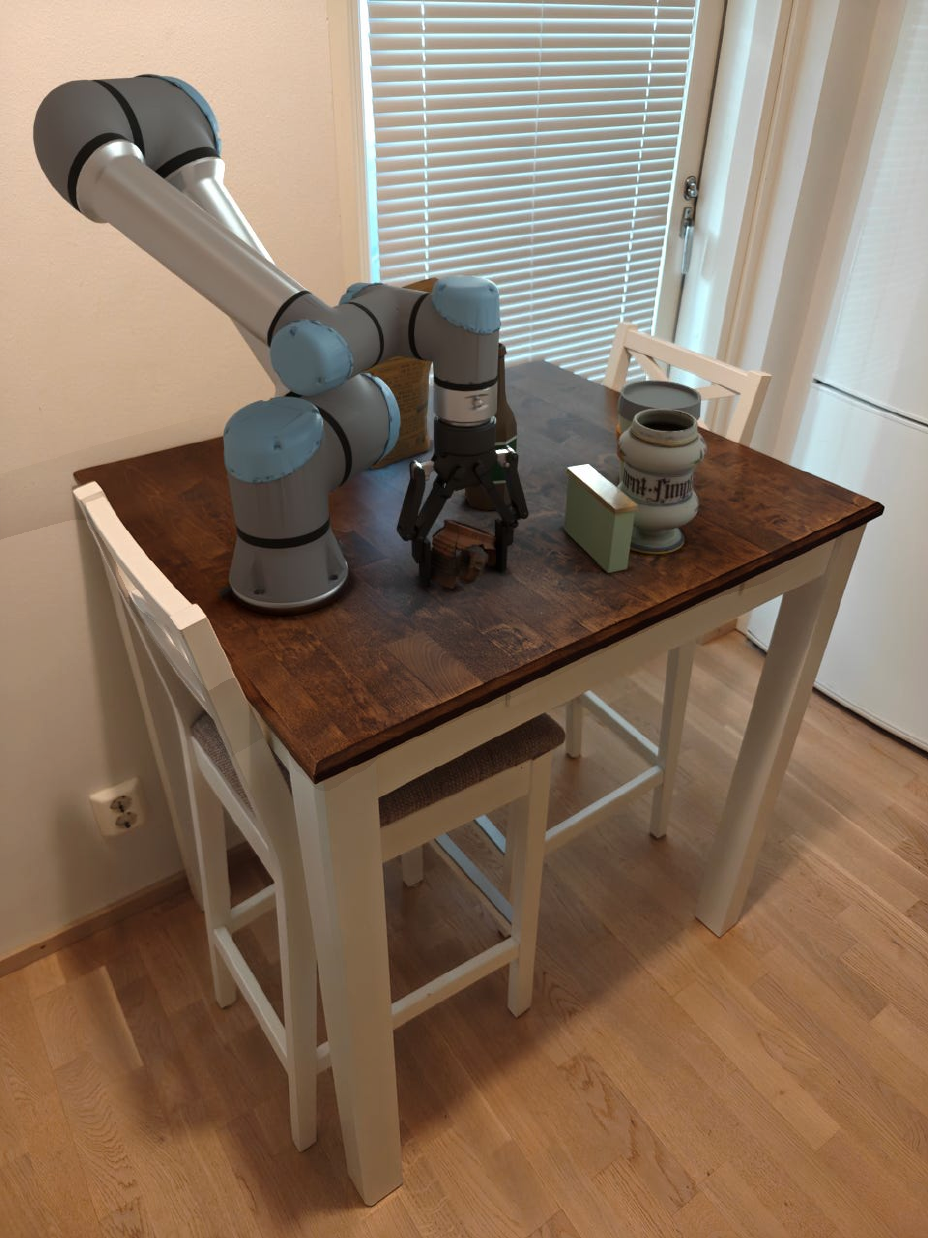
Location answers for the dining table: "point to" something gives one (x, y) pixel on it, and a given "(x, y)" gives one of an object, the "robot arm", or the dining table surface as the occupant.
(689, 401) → the grey lidded canister
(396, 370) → the pancake mix bag
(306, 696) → the dining table surface
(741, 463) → the dining table surface
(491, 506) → the beer bottle
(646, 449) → the apothecary jar
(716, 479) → the dining table surface
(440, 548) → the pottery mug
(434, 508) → the robot arm
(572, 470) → the back wall
